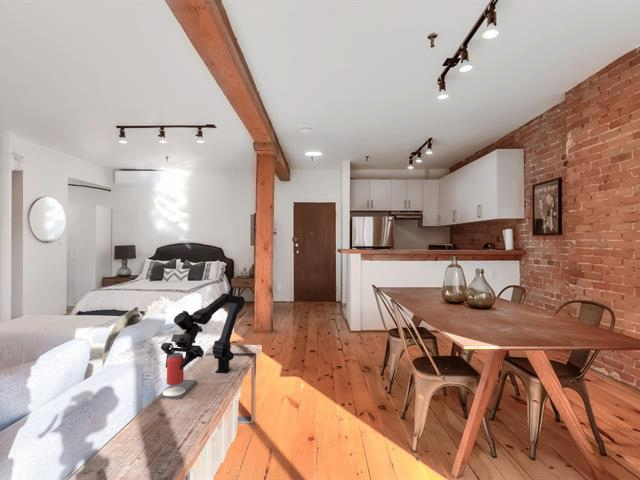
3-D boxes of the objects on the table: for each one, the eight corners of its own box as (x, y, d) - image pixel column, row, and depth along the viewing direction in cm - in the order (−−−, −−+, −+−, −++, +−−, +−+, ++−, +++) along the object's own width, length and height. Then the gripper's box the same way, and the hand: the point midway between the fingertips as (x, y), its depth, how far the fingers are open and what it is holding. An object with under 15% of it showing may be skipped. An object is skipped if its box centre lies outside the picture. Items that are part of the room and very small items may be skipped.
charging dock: (178, 381, 159) (178, 378, 159) (197, 382, 159) (197, 379, 159) (158, 399, 140) (158, 395, 141) (179, 399, 140) (180, 396, 140)
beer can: (172, 387, 141) (173, 358, 141) (163, 383, 144) (164, 355, 144) (186, 381, 146) (187, 354, 147) (177, 378, 150) (177, 351, 150)
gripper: (163, 324, 152) (145, 356, 141) (200, 327, 147) (184, 361, 136) (174, 337, 159) (157, 369, 148) (210, 340, 155) (195, 373, 144)
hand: (173, 368), depth 144 cm, fingers closed on beer can, 7 cm apart
